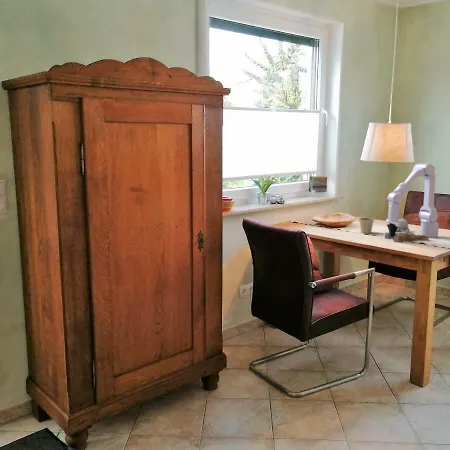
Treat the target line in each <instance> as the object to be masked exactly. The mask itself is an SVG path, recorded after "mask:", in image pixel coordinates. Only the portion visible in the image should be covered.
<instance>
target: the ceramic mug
mask: <svg viewBox="0 0 450 450" xmlns="http://www.w3.org/2000/svg"><path fill="white" fill-rule="evenodd" d="M398 221H399V223H401V227H398V229H397V231H396V233H397V232H408V233H410V228H409V223H408V221H407V220H406V219H405V218H399V220H398Z"/></svg>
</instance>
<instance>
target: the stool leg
mask: <svg viewBox="0 0 450 450" xmlns="http://www.w3.org/2000/svg"><path fill="white" fill-rule="evenodd" d="M399 233H403V234H408V232H406V233H405V232H402V231H400V232H396V233H395V236H394V237H396V236H398V234H399ZM394 237H390V234H389V231H387V232H386V231H385V234H384V238H386V239H387V238H388V239H394Z"/></svg>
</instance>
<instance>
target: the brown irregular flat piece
mask: <svg viewBox="0 0 450 450" xmlns="http://www.w3.org/2000/svg"><path fill="white" fill-rule="evenodd" d="M405 233H406V232H405ZM429 239H430V237H429V235H417V234H415V233H413V232H409V233H408V234H403V233H398V236H396V237H394V238H393V242H395V243H400V242H403V241H410V242H411V241H424V242H425V241H426V242H427V241H428V242H429V241H430V240H429Z"/></svg>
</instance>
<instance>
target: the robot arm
mask: <svg viewBox="0 0 450 450" xmlns="http://www.w3.org/2000/svg"><path fill="white" fill-rule="evenodd" d="M435 170H436V167H435V166H434V165H433V164H432V163H421V162H418V163H416V164H415V165H414V166H413V168H412V171H411V172H410V174H409V175H408V177H406V179H405V181H404V182H401V183H399V184H398V185H397V187H396V188H395V189H394V190H393V192H390V193H389V194H388V195H387V197H386V200H387V202H388V213H387V218H386V219H385V223H386V227H387V229H388V232H389V234H390V237H394V236H395V233H397V232H396V231H397V229H398V227H401V223H399V221H398V220H399V219H400V217H399V216H400V203H401V202H402V201H403V199H404V198H403V197H404V195H405V194H406V193H407V192H408V191H409V190H410V186H411V185H412V184H413V183H414V182H415V181H416V180H417V179H418V178H419V177H422V178H423V179H424V192H423V193H424V194H423V205H422V206H421V207H420V208H419V209H420V211H419V212H418V219H420V233H417V234H416V235H429V238H439V230H440V229H439V226H440V225H439V223H438V221H437V220H438V215H439V214H438V210H437V208H436V207H435V205H434V204H435V192H436V191H435V189H436V188H435V187H436V177H437V176H436V172H435Z"/></svg>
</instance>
